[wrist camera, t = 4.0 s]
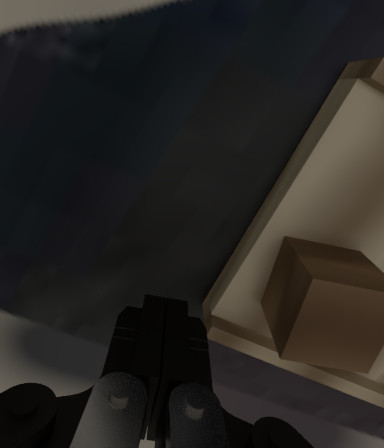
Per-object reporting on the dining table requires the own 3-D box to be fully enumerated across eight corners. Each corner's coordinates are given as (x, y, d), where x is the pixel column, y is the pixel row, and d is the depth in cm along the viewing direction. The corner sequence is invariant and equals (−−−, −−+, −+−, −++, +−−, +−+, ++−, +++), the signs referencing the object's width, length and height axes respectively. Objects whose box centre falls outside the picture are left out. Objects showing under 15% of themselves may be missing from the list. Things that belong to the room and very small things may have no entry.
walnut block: (284, 235, 16) (312, 278, 13) (360, 251, 17) (409, 297, 13) (260, 303, 18) (279, 359, 14) (331, 315, 18) (367, 373, 15)
